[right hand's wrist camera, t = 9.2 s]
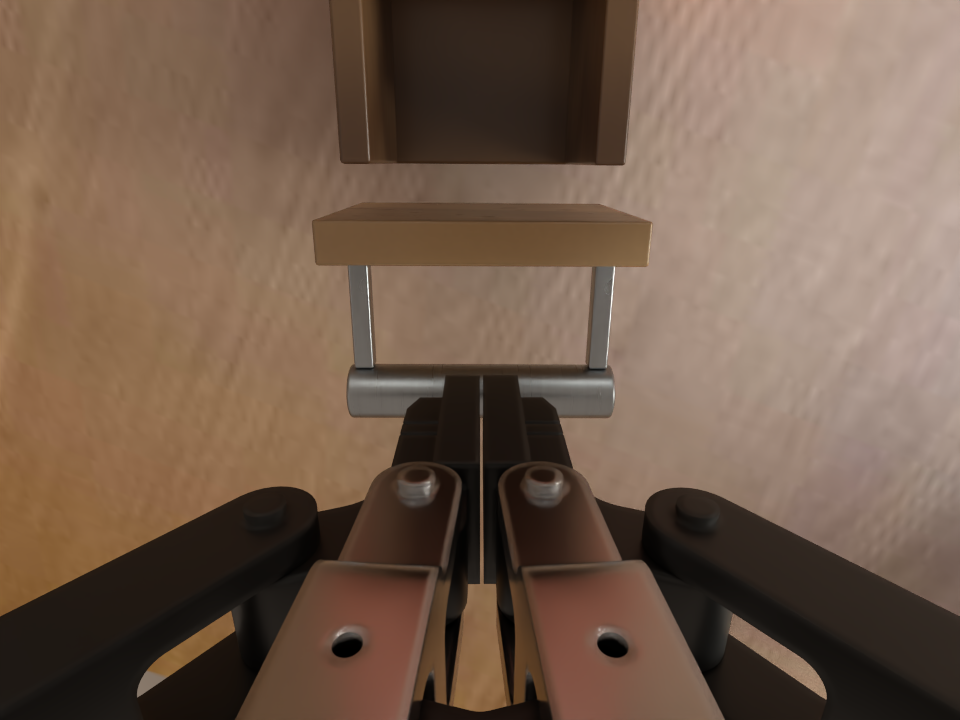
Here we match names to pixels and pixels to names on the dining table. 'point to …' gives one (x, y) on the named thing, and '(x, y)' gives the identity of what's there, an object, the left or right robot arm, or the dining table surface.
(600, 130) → the drawer
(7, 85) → the dining table surface
